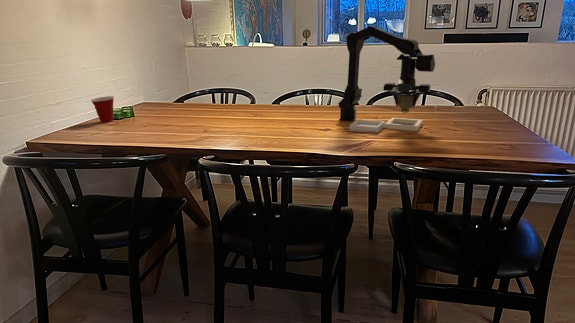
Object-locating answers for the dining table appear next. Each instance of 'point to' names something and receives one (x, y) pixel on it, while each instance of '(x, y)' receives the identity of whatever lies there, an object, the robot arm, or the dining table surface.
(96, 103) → the plastic cup
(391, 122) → the white flat square frame
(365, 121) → the grey tray
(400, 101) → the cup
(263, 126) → the dining table surface
